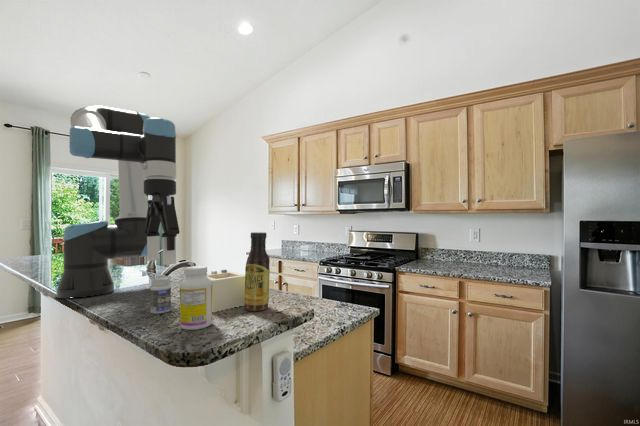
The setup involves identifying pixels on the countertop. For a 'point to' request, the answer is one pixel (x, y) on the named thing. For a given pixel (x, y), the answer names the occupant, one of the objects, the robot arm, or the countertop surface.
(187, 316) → the supplement bottle
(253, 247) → the sauce bottle
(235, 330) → the countertop surface
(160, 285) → the pill bottle
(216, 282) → the cream open-top box
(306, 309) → the countertop surface
